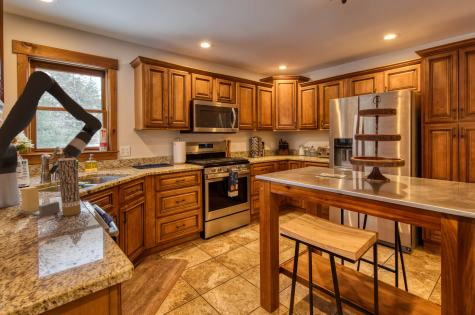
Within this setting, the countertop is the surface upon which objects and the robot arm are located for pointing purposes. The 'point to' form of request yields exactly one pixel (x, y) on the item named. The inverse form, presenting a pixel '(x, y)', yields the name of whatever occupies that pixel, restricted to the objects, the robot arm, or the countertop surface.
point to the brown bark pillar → (69, 186)
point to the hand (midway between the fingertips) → (54, 173)
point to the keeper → (30, 199)
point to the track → (45, 209)
